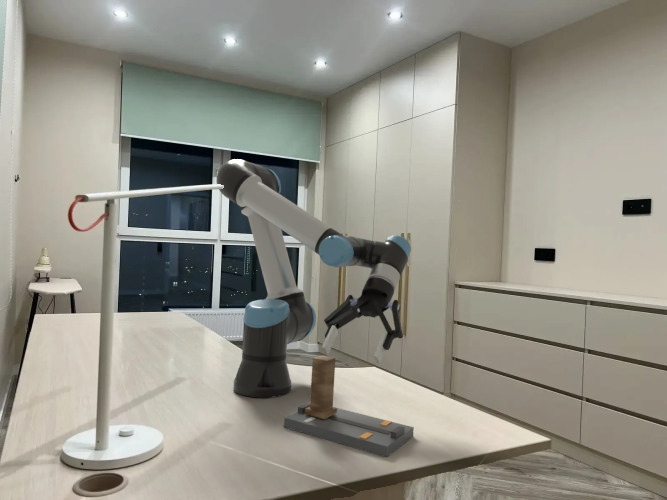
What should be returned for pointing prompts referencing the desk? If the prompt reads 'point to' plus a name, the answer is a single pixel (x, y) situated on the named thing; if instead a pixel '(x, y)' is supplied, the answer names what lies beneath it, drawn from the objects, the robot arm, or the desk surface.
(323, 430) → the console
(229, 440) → the desk surface
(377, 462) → the desk surface
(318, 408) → the fader
